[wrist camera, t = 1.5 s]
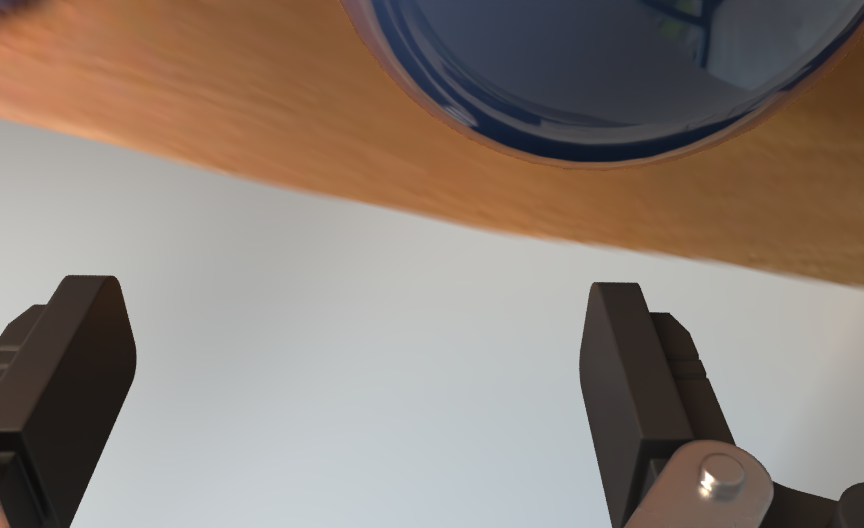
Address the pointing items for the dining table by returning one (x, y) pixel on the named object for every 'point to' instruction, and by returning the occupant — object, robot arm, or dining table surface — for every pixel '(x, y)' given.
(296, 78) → the dining table surface
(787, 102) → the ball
